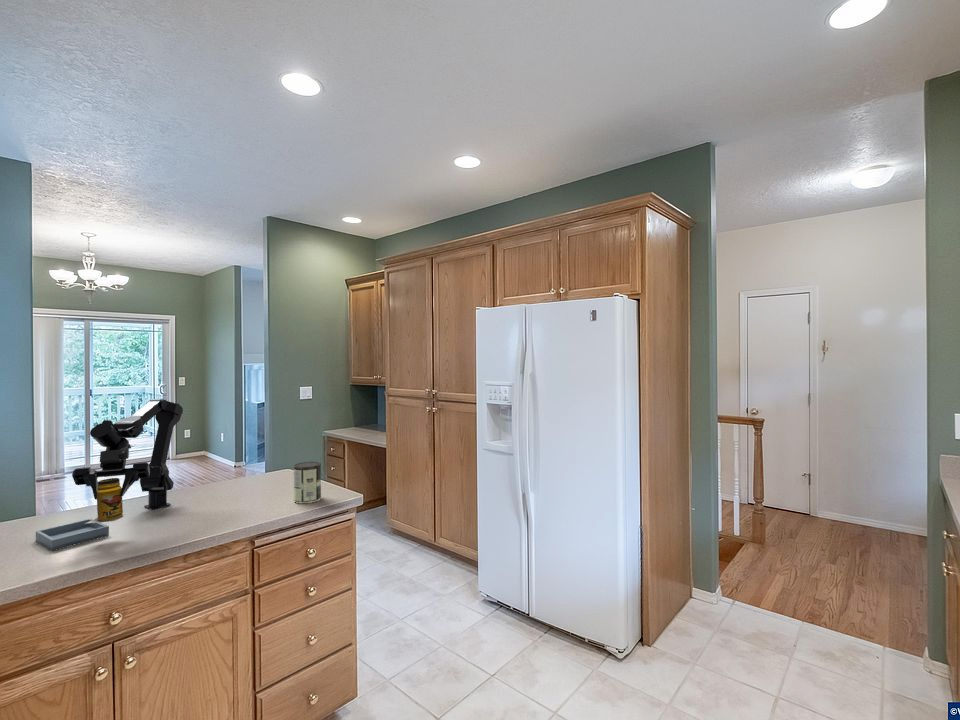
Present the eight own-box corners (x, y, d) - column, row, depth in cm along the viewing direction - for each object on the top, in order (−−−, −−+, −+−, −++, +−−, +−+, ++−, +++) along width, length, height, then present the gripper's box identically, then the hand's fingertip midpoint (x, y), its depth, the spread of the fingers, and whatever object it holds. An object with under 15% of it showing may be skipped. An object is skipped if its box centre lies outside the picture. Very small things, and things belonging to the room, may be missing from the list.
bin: (35, 541, 140) (35, 531, 140) (91, 527, 152) (91, 518, 152) (51, 550, 133) (51, 540, 133) (108, 535, 145) (108, 526, 145)
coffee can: (309, 494, 189) (309, 460, 189) (326, 498, 184) (326, 463, 184) (287, 501, 181) (287, 465, 181) (304, 505, 175) (304, 468, 175)
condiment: (115, 521, 138) (113, 481, 139) (83, 524, 137) (82, 483, 138) (130, 514, 146) (128, 475, 146) (100, 516, 145) (98, 478, 145)
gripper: (73, 442, 141) (62, 487, 131) (148, 437, 150) (143, 479, 140) (80, 462, 148) (70, 507, 138) (152, 456, 157) (147, 497, 147)
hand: (108, 497), depth 141 cm, fingers closed on condiment, 6 cm apart
